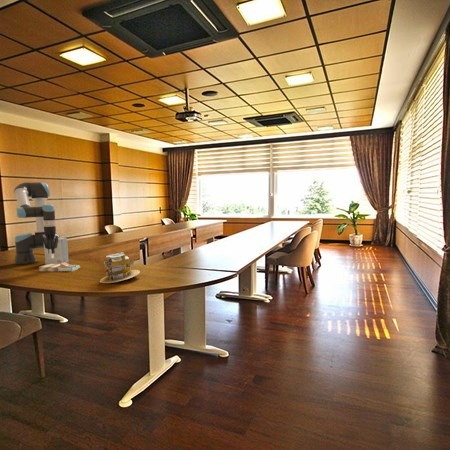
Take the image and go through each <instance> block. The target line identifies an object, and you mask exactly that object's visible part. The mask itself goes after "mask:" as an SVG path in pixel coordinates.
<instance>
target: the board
mask: <svg viewBox="0 0 450 450" xmlns="http://www.w3.org/2000/svg"><path fill="white" fill-rule="evenodd" d="M59 267H60V264H44V265H41V266H38V272H59V271H58V268H59Z"/></svg>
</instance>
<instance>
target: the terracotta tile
mask: <svg viewBox="0 0 450 450" xmlns="http://www.w3.org/2000/svg"><path fill="white" fill-rule="evenodd" d="M69 265H71V264H69V262H68V263H65V262H64V263H61V264H60V267H62V268H66V266H69Z"/></svg>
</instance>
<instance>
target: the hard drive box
mask: <svg viewBox="0 0 450 450" xmlns="http://www.w3.org/2000/svg"><path fill="white" fill-rule="evenodd" d="M54 241H55V239H54ZM43 243H44V242H43ZM54 251H55V253H54V258H52V259H51V258H50V255H49V253H48V249H47V248H45V245H44V248H43V252H44V265H46V264H61V263H64V262H65V263H68V264H69V262H70V261H69V249H68V238H66V237H59V239H58V245H57V248H55V249H54Z"/></svg>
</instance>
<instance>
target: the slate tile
mask: <svg viewBox="0 0 450 450" xmlns="http://www.w3.org/2000/svg"><path fill="white" fill-rule="evenodd" d="M76 265H77V264H70V265H69V266H66V268H73V267H76Z"/></svg>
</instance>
